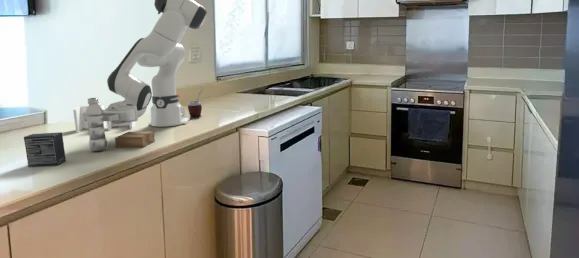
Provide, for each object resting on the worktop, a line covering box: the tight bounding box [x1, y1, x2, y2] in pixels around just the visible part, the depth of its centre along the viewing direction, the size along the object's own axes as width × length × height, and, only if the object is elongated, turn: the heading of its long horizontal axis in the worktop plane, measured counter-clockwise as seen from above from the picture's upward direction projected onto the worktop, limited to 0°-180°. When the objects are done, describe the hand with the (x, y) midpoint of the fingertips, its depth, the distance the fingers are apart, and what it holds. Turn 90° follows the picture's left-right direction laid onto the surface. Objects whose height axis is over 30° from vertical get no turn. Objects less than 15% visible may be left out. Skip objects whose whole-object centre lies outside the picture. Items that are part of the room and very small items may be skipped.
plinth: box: [114, 130, 156, 149], centre depth 189 cm, size 11×11×4 cm
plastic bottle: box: [85, 97, 108, 152], centre depth 179 cm, size 6×7×20 cm
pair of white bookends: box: [72, 104, 137, 134], centre depth 226 cm, size 25×11×11 cm, turn 99°
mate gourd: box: [187, 88, 205, 119], centre depth 248 cm, size 8×8×15 cm
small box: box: [23, 131, 67, 168], centre depth 164 cm, size 11×6×10 cm, turn 92°
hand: (97, 119), depth 179 cm, fingers open, 8 cm apart
